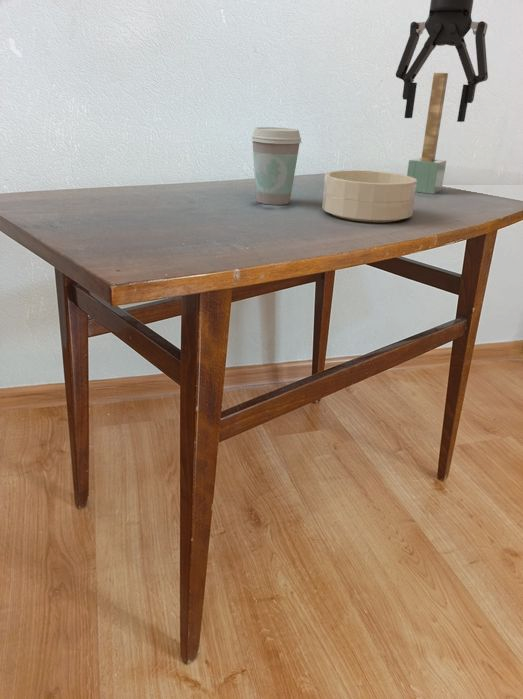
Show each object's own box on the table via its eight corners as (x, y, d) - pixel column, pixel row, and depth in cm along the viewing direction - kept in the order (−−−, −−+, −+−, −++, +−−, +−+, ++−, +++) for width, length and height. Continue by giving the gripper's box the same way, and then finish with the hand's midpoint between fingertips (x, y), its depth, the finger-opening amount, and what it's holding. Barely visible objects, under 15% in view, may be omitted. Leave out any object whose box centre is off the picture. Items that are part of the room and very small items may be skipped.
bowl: (422, 213, 99) (428, 177, 97) (394, 228, 88) (399, 187, 85) (343, 202, 106) (346, 167, 103) (307, 215, 94) (310, 176, 92)
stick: (430, 190, 122) (448, 73, 113) (427, 191, 121) (445, 73, 112) (419, 189, 123) (436, 73, 114) (416, 190, 122) (433, 72, 113)
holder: (441, 190, 123) (446, 160, 121) (433, 194, 118) (438, 162, 116) (413, 187, 126) (417, 157, 123) (404, 190, 121) (408, 159, 118)
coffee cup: (238, 200, 103) (240, 127, 98) (271, 195, 109) (274, 126, 104) (275, 208, 98) (279, 131, 93) (307, 203, 104) (312, 130, 99)
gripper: (387, -14, 109) (373, 116, 118) (515, -18, 99) (488, 124, 108) (401, -8, 115) (386, 115, 124) (522, -11, 105) (496, 123, 114)
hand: (434, 119), depth 116 cm, fingers open, 10 cm apart
